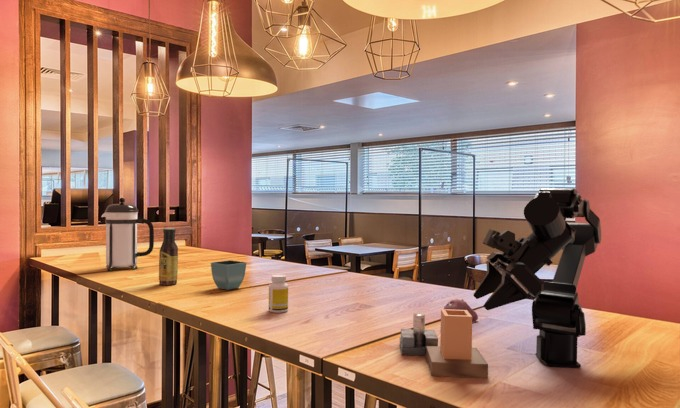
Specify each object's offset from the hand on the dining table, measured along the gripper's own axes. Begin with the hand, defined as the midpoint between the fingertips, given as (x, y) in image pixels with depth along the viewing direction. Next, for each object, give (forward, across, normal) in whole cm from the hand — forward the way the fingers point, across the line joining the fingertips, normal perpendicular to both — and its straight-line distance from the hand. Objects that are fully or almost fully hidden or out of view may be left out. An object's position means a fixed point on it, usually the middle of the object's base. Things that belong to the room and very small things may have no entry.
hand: (479, 302), depth 88 cm
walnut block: (+12, 0, +6) cm, 13 cm away
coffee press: (+99, -99, -81) cm, 162 cm away
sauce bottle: (+75, -69, -57) cm, 117 cm away
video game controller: (+8, -32, +10) cm, 35 cm away
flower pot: (+59, -65, -41) cm, 97 cm away
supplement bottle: (+42, -38, -24) cm, 61 cm away
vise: (+16, -9, +1) cm, 19 cm away
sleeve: (+10, 0, +4) cm, 11 cm away
